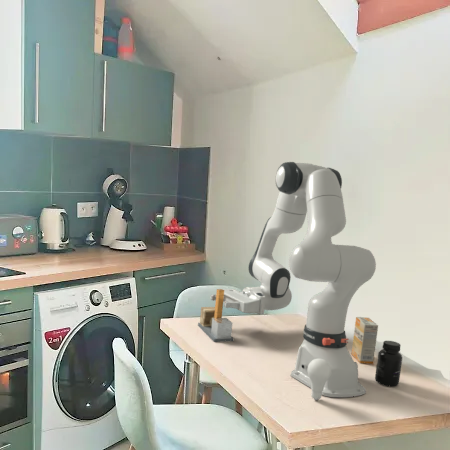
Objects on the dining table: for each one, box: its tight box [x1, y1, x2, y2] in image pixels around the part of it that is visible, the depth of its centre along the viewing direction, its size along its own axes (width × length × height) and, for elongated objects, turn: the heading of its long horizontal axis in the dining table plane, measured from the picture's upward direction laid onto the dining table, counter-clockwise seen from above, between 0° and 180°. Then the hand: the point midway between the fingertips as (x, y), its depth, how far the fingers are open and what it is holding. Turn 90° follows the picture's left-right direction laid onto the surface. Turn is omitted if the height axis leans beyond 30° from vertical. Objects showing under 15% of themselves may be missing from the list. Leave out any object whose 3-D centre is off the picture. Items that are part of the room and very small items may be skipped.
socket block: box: [199, 306, 215, 326], centre depth 190 cm, size 4×6×6 cm, turn 111°
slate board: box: [197, 322, 235, 343], centre depth 185 cm, size 18×7×1 cm, turn 21°
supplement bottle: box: [374, 340, 403, 388], centre depth 153 cm, size 7×7×12 cm
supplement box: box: [351, 316, 379, 365], centre depth 171 cm, size 8×5×13 cm, turn 6°
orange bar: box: [210, 288, 224, 326], centre depth 181 cm, size 10×4×14 cm, turn 21°
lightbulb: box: [307, 358, 331, 401], centre depth 137 cm, size 6×6×11 cm
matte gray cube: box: [211, 317, 233, 339], centre depth 179 cm, size 6×5×5 cm
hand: (217, 301), depth 182 cm, fingers open, 8 cm apart
